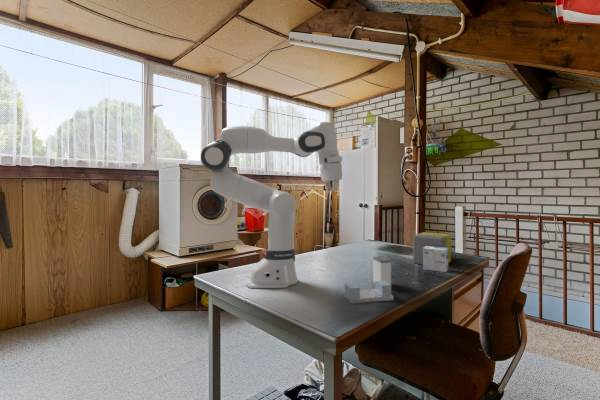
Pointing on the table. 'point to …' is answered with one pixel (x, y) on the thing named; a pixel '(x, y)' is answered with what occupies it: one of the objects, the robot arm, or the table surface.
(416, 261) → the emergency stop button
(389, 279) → the block
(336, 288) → the table surface
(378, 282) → the mounted modules
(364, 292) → the grey flat base plate
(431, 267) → the light bulb box
